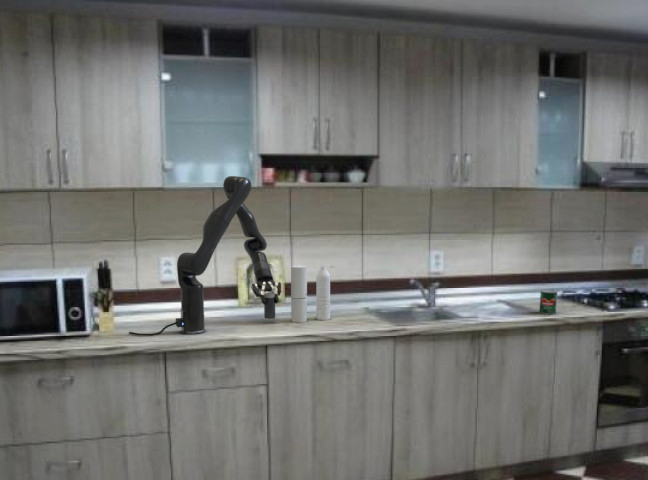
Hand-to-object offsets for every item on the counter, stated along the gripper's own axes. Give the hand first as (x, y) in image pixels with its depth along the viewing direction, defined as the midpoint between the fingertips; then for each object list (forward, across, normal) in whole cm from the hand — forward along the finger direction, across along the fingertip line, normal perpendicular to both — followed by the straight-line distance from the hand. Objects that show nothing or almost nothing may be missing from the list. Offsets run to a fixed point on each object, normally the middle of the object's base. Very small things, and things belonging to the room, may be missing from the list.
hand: (270, 302), depth 275 cm
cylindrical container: (+6, +14, +8) cm, 17 cm away
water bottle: (+6, +27, +8) cm, 29 cm away
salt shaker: (+4, 0, +6) cm, 7 cm away
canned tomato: (+25, +135, -11) cm, 138 cm away
